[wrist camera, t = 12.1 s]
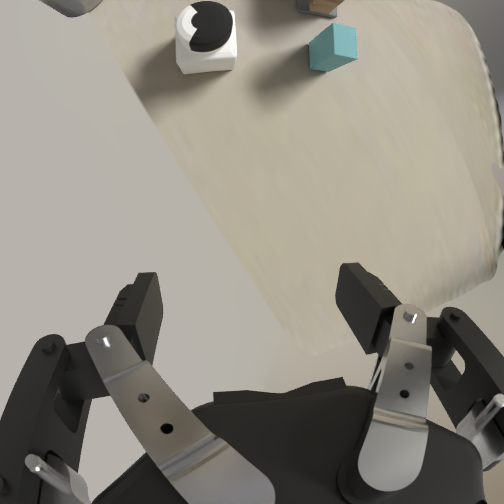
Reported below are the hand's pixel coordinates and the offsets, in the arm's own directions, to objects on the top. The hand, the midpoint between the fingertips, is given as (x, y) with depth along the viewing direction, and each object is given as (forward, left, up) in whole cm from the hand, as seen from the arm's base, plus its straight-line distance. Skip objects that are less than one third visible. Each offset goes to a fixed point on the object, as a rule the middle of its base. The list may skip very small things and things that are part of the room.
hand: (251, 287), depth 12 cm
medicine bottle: (-12, +15, -30) cm, 36 cm away
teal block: (+2, +23, -30) cm, 38 cm away
